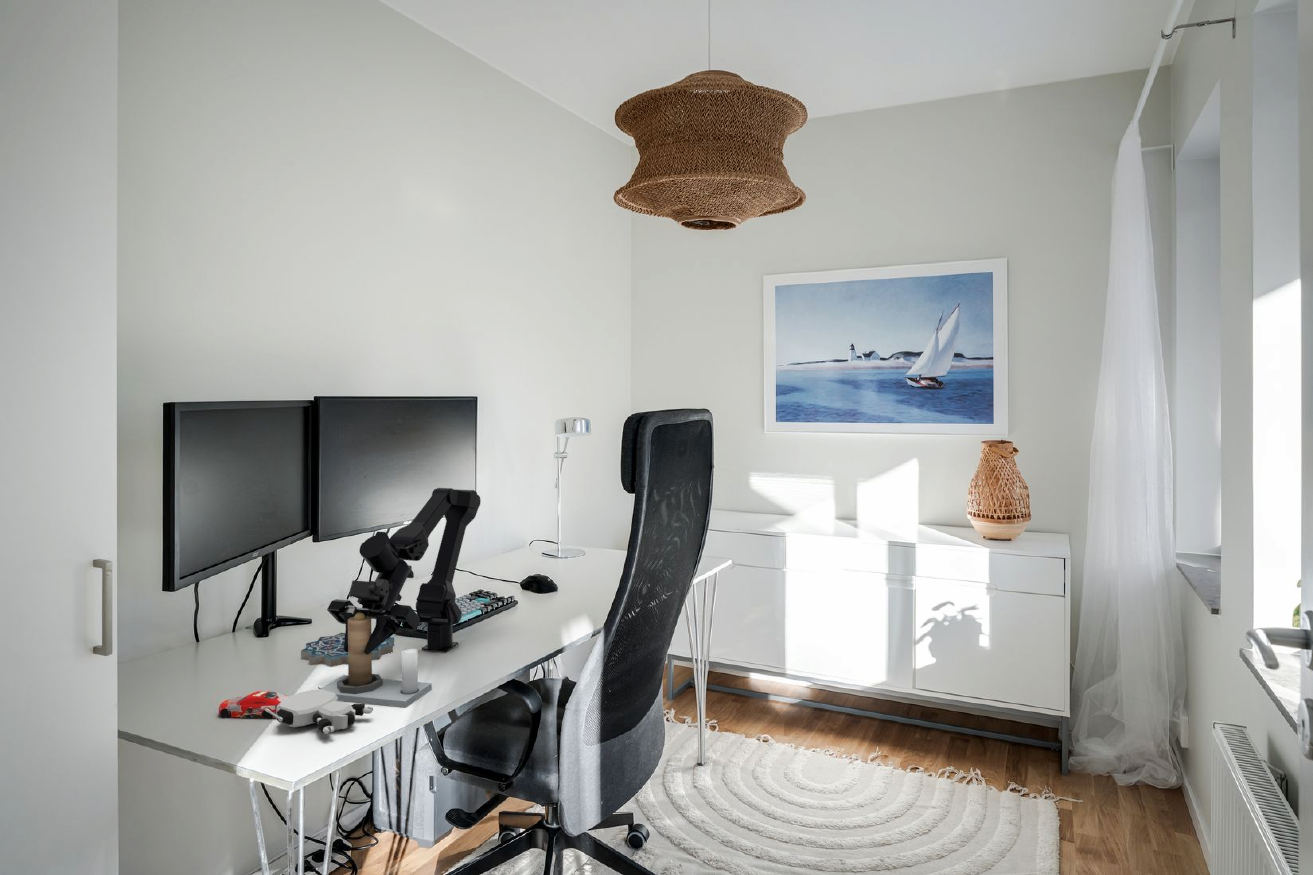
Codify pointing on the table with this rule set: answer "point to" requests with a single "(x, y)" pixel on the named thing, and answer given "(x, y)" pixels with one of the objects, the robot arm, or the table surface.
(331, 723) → the robot toy
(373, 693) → the plate
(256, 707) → the race car
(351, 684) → the brown tall cylinder
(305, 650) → the decorative tile
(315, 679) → the table surface
